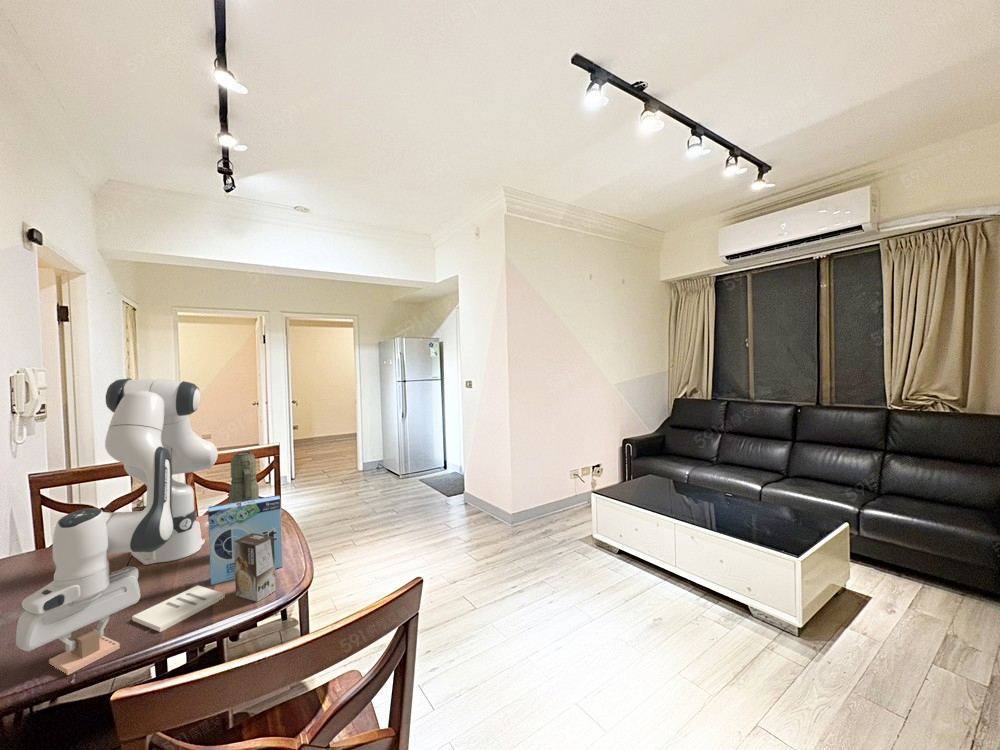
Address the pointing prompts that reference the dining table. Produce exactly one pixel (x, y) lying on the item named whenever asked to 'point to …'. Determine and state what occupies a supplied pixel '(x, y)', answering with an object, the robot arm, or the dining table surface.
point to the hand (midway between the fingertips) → (85, 643)
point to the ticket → (177, 608)
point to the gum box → (241, 532)
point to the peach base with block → (84, 651)
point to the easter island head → (243, 478)
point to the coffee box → (254, 566)
